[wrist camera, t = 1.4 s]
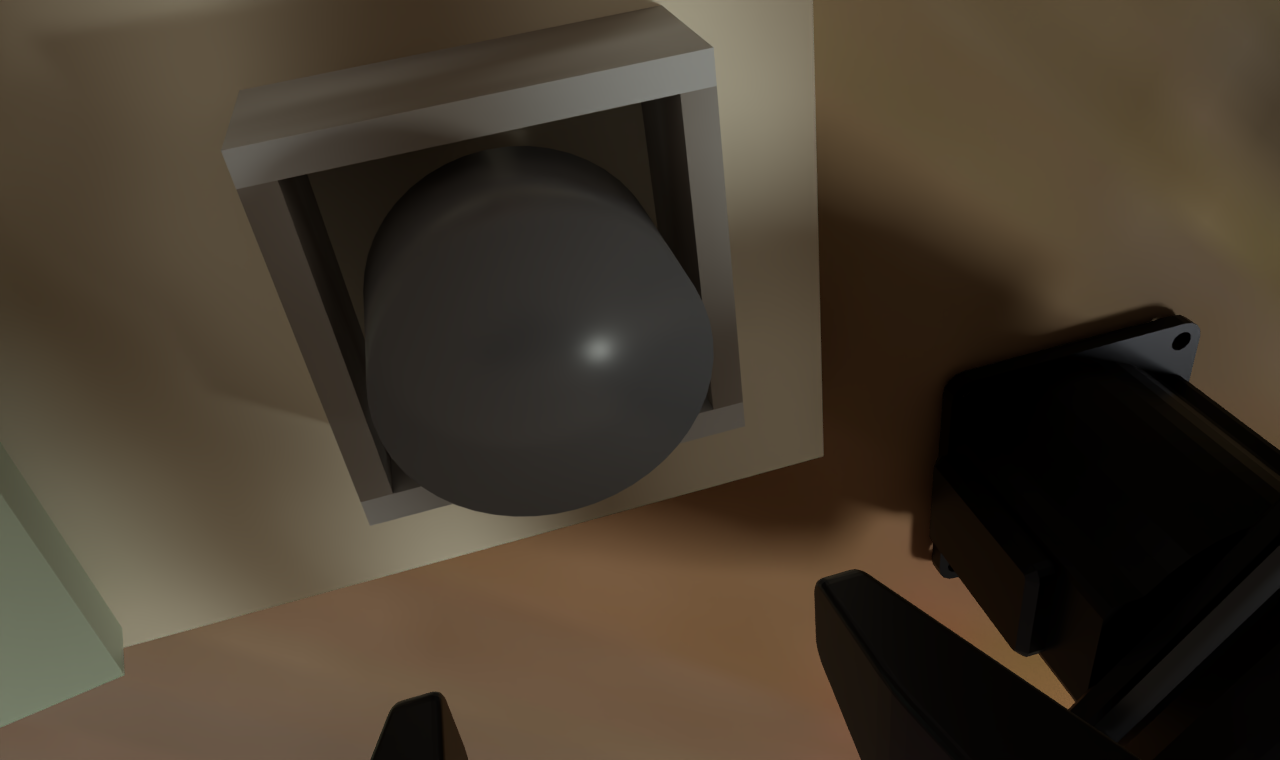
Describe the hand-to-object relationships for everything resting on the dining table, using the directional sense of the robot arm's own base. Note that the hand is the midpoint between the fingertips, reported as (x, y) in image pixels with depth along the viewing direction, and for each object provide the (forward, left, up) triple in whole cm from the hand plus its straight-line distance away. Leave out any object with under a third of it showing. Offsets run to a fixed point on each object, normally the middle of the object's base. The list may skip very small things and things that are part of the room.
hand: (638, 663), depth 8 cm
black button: (0, 0, -7) cm, 7 cm away
